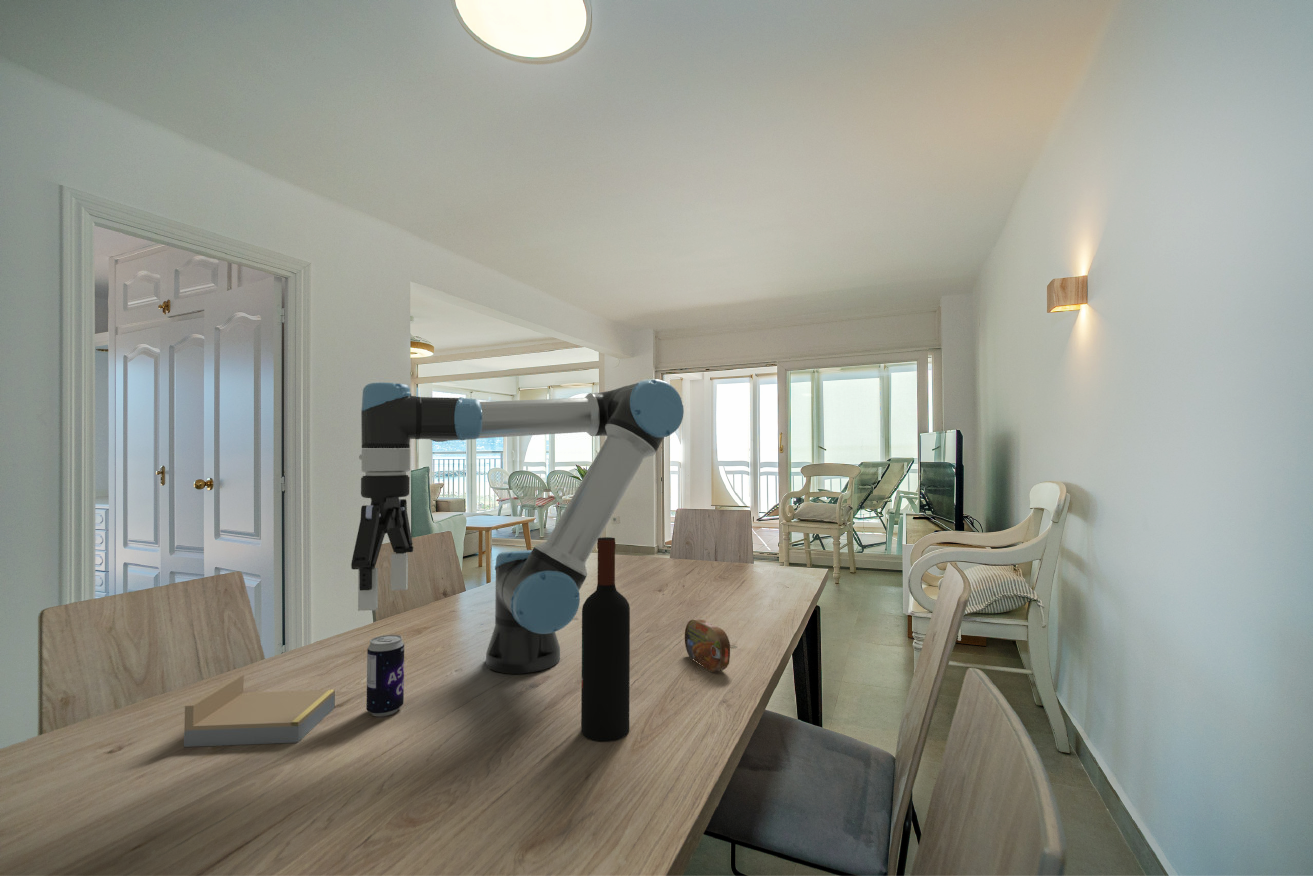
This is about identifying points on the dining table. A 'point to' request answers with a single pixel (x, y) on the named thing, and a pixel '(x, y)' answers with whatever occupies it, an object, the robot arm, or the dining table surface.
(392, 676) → the beverage can
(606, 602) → the wine bottle
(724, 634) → the tin
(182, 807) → the dining table surface
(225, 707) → the dock
